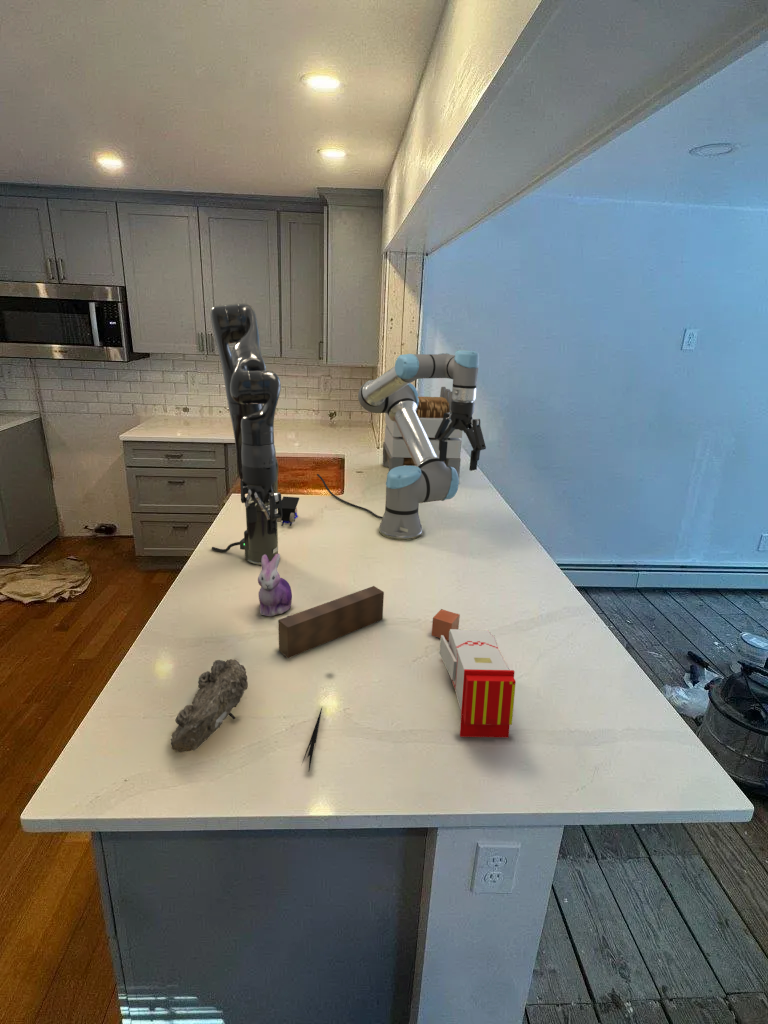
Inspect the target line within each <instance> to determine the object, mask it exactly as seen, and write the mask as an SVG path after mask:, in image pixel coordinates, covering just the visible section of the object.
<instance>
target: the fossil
mask: <svg viewBox="0 0 768 1024" xmlns="http://www.w3.org/2000/svg"><path fill="white" fill-rule="evenodd" d="M197 683H198V684H197V687H198V690H197V691H196V693H195V694H194V697H193V698H192V701H191V704H187V705H185V706H184V707H183V708H182V709H181V710H179V712H178V713H177V715H176V717H175V719H174V721H175V723H176V725H177V726H176V728H175V730H174V731H173V732H172V733H171V735H170V736H171V738H170V747H171V750H172V751H176V752H178V753H186V752H190V751H193V752H195V751H197V750H198V749H199V748H200V747H201V746H202V745H203V744H204V743H205V742H207V741H208V740H209V739H210V737H211V736H212V735H213V734H215V733H216V731H218V730H219V729H220V728H221V726H222V725H223V723H224V721H225V720H226V719H227V718H228V717H230V718H232V720H235V719H236V716H235V715H234V714H233V713H232V710H233V709H235V708H237V706H238V705H239V704H240V702H241V700H242V698H243V696H244V693H245V691H246V690H247V689H248V686H249V685H248V675H247V669H246V668H245V666H244V665H243V664H241V663H240V661H238V660H237V659H236V658H234V659H232V658H230V659H226V660H221V659H216V660H214V661H213V662H212V665H211V667H210V671H208V670H207V671H205V672H201V674H200V675H199V676H198V681H197Z"/></svg>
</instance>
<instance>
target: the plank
mask: <svg viewBox="0 0 768 1024" xmlns="http://www.w3.org/2000/svg"><path fill="white" fill-rule="evenodd" d="M384 597H385V591H384V590H382V589H380V588H378V587H376V586H375V585H373V586H370V587H367V588H364V589H362V590H359V591H355V592H353V593H350V594H347V595H345V596H342V597H339V598H336V599H332V600H331V601H328V602H324V603H322V604H319V605H316V606H313V607H311V608H308V609H305V610H301V611H299V612H297V613H293V614H291V615H287V616H286V617H282V618H280V619H278V620H277V621H278V625H277V626H278V628H277V629H278V651H279V652H280V653H281V654H282V655H283V656H285V657H286V658H287V659H290V658H294V657H295V656H297V655H300V654H303V653H304V652H307V651H310V650H312V649H315V648H317V647H319V646H322V645H324V644H328V643H329V642H332V641H335V640H336V639H340V638H342V637H344V636H346V635H348V634H351V633H353V632H356V631H358V630H361V629H363V628H366V627H368V626H372V625H373V624H376V623H378V622H380V621H383V620H384V619H383V617H384V599H385V598H384Z"/></svg>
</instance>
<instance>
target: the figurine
mask: <svg viewBox="0 0 768 1024" xmlns="http://www.w3.org/2000/svg"><path fill="white" fill-rule="evenodd" d="M280 560H281V555H280V553H278V554H276V555H275V556H274V557H273V559H272V560H271V561H269V559H268V557H267V555H263V556H262V560H261V564H262V565H261V571H260V572H259V575H258V577H257V583H258V585H259V586H260V588H259V591H258V600H259V604H260V605H259V614H260V615H262V616H265V617H274V616H276V615H281V614H284V613H285V612H287V611H288V610H290V609H291V607H292V599H293V593H292V588H291V585H290V583H289V581H287V579H285V578H284V577H281V576H280V573H279V571H278V567H279V564H280Z"/></svg>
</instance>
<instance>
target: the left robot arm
mask: <svg viewBox="0 0 768 1024" xmlns="http://www.w3.org/2000/svg"><path fill="white" fill-rule="evenodd" d="M210 322H211V328H212V332H213V337H214V340H215V345H216V348H217V349H216V350H217V352H218V356H219V361H220V365H221V369H222V375H223V381H224V389H225V394H226V395H225V396H226V402H227V407H228V411H229V412H228V413H229V417H230V420H231V421H230V422H231V425H232V430H233V437H234V445H235V455H236V456H235V457H236V466H237V473H238V477H239V479H240V483H239V485H240V502H241V503H242V504H244V506H245V522H246V525H245V526H246V530H244V532H243V538H242V539H240V540H239V541H235V542H232V543H230V544H229V545H228V546H227V547H226V548H218V547H216V546H212V547H211V550H212V551H215V552H217V553H227V552H229V551H230V550H231V548H233V547H236V546H239V550H244V560H245V562H246V561H247V562H249V563H250V564H253V565H257V566H258V565H261V566H262V564H261V560H262V556H263V555H267V557H268V559H269V561H271V560H272V559H273V557H274V556H275V555H276V554H279V536H278V535H279V532H278V529H279V528H278V522H277V519H278V518H282V517H283V515H282V493H281V492H280V491H279V468H280V467H279V461H278V459H277V452H276V451H277V450H276V446H275V429H274V428H275V427H274V425H275V417H276V416H275V415H276V410H277V406H278V402H279V398H280V395H281V390H282V389H281V388H282V384H281V380H280V377H279V375H278V374H277V373H276V372H275V371H273V370H268V369H267V366H266V362H265V359H264V356H263V353H262V348H261V335H260V329H259V322H258V318H257V314H256V311H255V309H254V308H253V306H252V305H251V304H249V303H232V304H221V305H216V306H213V307H212V308H211V311H210ZM230 344H234V345H233V348H232V349H231V347H230ZM246 494H247V495H246Z"/></svg>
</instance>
